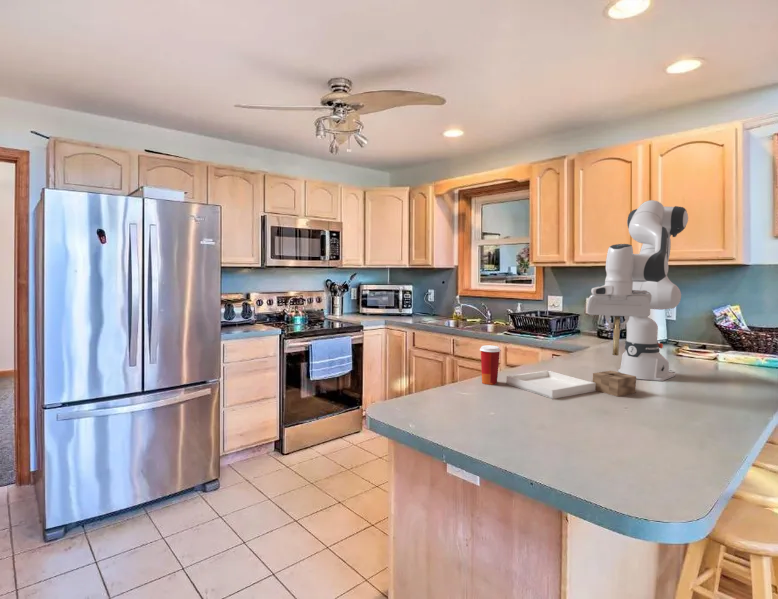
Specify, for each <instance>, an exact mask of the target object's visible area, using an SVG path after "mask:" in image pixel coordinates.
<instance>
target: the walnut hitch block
mask: <svg viewBox="0 0 778 599" xmlns="http://www.w3.org/2000/svg"><path fill="white" fill-rule="evenodd" d="M592 382H594V383H596V386H595V392H596V391H597V392H600V393H604V394H607V395H612V396H614V397H621V396H626V395H632V394H635V393H636V390H637V388H636V387H637V386H636V384H637V379H636V376H632V375H628V374H624V373H620V372H618V371H614V370H605V371H599V372H594V373H592Z"/></svg>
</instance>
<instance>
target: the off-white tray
mask: <svg viewBox="0 0 778 599" xmlns="http://www.w3.org/2000/svg"><path fill="white" fill-rule="evenodd" d="M505 381H506V385H509V386H512V387H515V388H518V389H521V390H524V391H527V392H531V393H534V394H535V395H539V396H542V397H545V398H548V399H551V400H555V399H559V398H566V397H570V396H576V395H582V394H586V393H587V394H588V393H592V392H596V390H595V386H596V383H594V382H593V381H590V380H586V379H582V378H578V377H576V376H575V377H574V376H571V375H567V374H563V373H559V372H555V371H552V370H540V371H535V372H526V373H525V372H524V373H519V374H512V375H506V380H505Z"/></svg>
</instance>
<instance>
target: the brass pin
mask: <svg viewBox="0 0 778 599" xmlns="http://www.w3.org/2000/svg"><path fill="white" fill-rule="evenodd" d="M622 317H623V316H613V329H612V330H613V337H612V355H613V356H619V354H620V353H619V352H620V333H621V328H620V326H621V325H620V323H621V318H622Z"/></svg>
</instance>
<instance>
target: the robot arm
mask: <svg viewBox="0 0 778 599" xmlns="http://www.w3.org/2000/svg"><path fill="white" fill-rule="evenodd" d="M688 222H689V215H688V211H687V209H686V208H685V207H683V206H677V205H675V206H664V205H663V204H662V203H661V202H660V201H657V200H655V199H654V200H653V199H651V200H646V201H644V202H643V203H642V204H640V205H639V207H638V208H636V209H633V210H632V211H630V213H629V214H628V216H627V220H626V224H627V225H626V226H627V228H628V234H629V235H630V237H631V238H632V239H633V240H634V241H635V242H637V243H640V244H642V245H641V248H640V251H639V253H634V250H633V245H631V244H629V243H617V244H612V245H610V246H609V247H608V249H607V254H606V259H605V272H606V276H605V278H604V279H605V280H604V285H599V286H595V287H592V288H591V290H590V291H591V294H590V296H589V297H588V298H587V299H588V300H587V302H586V303H587V305H586V313H587V314H588V315H590V316H591V315H592V316H604V318H605V320H606V321H607V324H608V325H607V328H608V329H614V322H610V319H611V316H612V317H614V316H622V317H624V321H623V323H622V322H620V330H621V329H622V330H626V340H625V341H624V342H625V343H624V350H625V351H624V352H623V353H622V355H621V364H620V368H618V370H617V372H619V373H624V374H628V375H632V376H636V380H647V381H658V382H659V381H660V382H664V381H666V380H668V379H670V378H671V379H672V378H674V377H675V376H676V373H674V372H672V371H670V364H669V361H668V360H667V359H666V358H665V357H664V356H663V355H662V354H661V352H660V349H663V343H660V342H658V336H659V334H658V331H659V327H658V326H659V325H658V323H657V322H656V321H655V320H653V319H652V318H651V317H649V316H650V315H651V310H669V309H670V310H671V309H672V310H673V309H675V308H676V307H677V306H679V304H680V302H681V300H682V299H681V298H682V292H681V290H680V288H679V286H677V284H675V283H674V282H672V281H671V280H670V278H669V277H668V273H669V260H670V255H671V248H672V247H671V246H672V243H671V241H672V240H671V236H672V238H676V237H677V236H678V234H681V233H682V232H683V231H684V229H686V226H687V224H688Z"/></svg>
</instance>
